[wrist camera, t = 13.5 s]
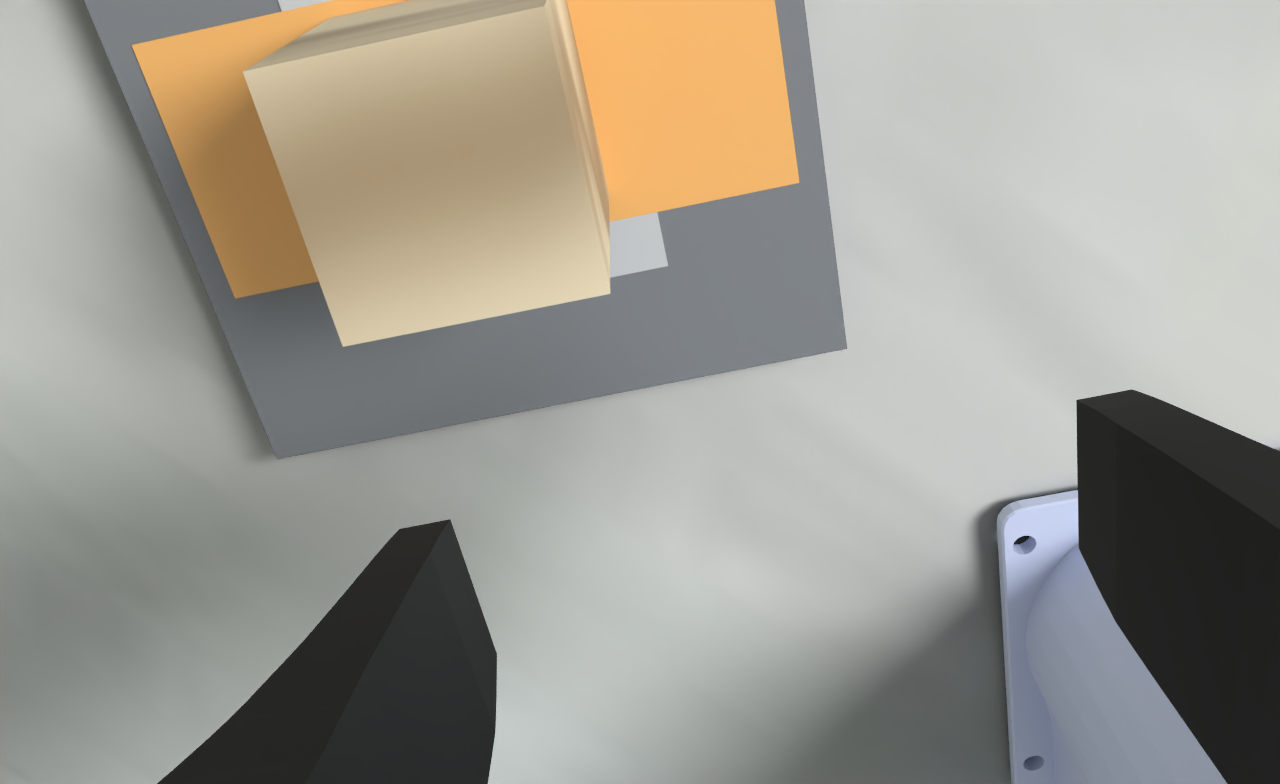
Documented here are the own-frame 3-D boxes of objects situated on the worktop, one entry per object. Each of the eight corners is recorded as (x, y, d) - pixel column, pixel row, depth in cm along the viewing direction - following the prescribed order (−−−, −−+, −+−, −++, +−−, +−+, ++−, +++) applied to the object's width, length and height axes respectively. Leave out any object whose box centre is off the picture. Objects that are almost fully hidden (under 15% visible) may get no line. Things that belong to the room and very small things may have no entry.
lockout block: (609, 193, 20) (610, 293, 15) (401, 235, 20) (342, 346, 15) (559, -33, 18) (544, 5, 13) (331, 17, 18) (242, 71, 14)
